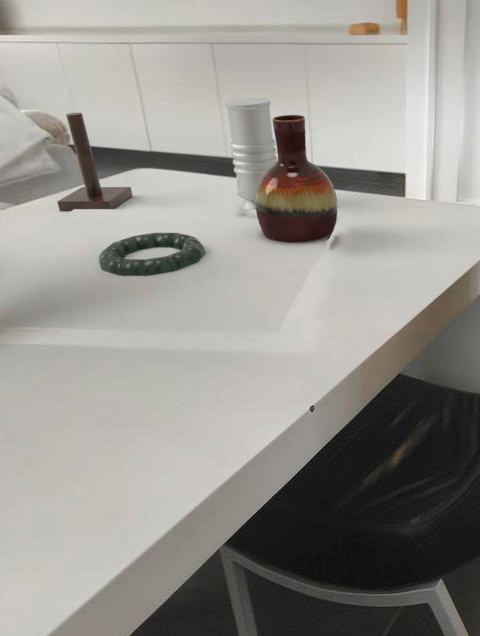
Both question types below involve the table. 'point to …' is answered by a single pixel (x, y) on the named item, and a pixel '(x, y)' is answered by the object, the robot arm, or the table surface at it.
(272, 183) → the vase
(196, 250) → the ring
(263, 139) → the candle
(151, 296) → the table surface
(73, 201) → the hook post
